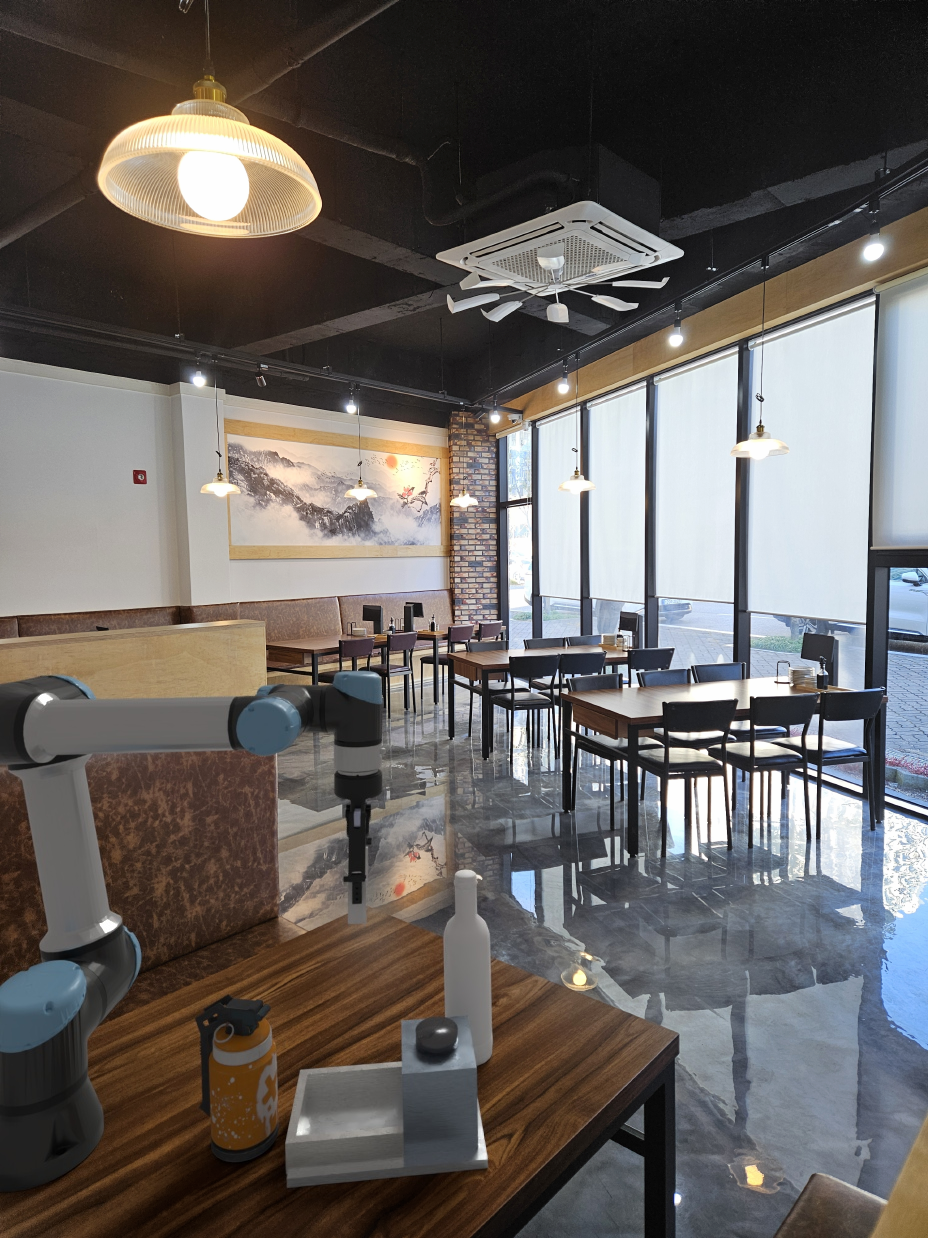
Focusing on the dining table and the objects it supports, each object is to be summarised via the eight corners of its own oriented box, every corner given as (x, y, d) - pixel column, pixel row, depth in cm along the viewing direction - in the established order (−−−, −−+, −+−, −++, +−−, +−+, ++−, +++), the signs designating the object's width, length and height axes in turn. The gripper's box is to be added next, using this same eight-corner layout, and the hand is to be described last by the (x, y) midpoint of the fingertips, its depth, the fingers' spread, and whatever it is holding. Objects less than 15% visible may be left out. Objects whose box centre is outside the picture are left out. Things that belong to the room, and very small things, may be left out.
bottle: (484, 1072, 111) (480, 885, 111) (438, 1063, 114) (434, 879, 113) (498, 1042, 119) (495, 867, 118) (454, 1034, 122) (451, 862, 121)
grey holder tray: (285, 1188, 90) (282, 1079, 90) (301, 1100, 106) (299, 1007, 106) (487, 1168, 93) (485, 1062, 92) (474, 1085, 108) (472, 994, 108)
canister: (259, 1172, 93) (255, 1022, 92) (184, 1160, 95) (179, 1014, 94) (289, 1122, 102) (285, 986, 101) (220, 1112, 104) (216, 979, 103)
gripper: (382, 790, 99) (382, 939, 99) (382, 752, 123) (382, 872, 124) (328, 791, 98) (328, 942, 98) (338, 753, 123) (339, 874, 123)
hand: (358, 903), depth 111 cm, fingers open, 13 cm apart
